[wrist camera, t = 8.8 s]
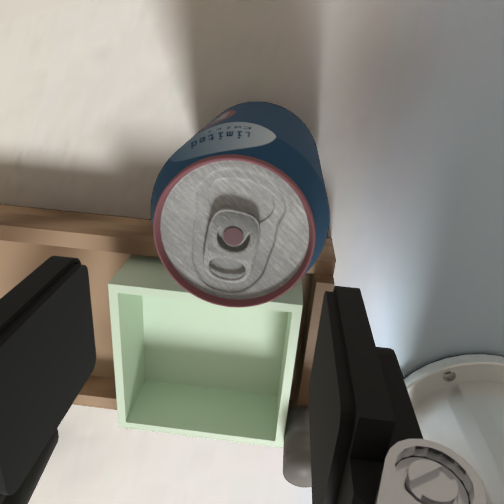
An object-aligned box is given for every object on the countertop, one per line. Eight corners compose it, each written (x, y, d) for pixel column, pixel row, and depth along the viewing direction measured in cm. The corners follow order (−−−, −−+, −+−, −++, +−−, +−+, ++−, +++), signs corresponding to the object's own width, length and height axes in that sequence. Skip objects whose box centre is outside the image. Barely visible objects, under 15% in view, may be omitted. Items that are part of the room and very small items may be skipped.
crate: (301, 267, 27) (302, 305, 23) (283, 396, 32) (282, 448, 27) (135, 249, 28) (107, 283, 24) (141, 379, 32) (118, 427, 28)
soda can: (211, 86, 25) (144, 115, 14) (331, 114, 25) (360, 164, 14) (193, 201, 28) (127, 299, 17) (301, 225, 28) (304, 339, 17)
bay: (342, 239, 28) (359, 308, 20) (314, 401, 33) (319, 501, 26) (-18, 202, 29) (-127, 254, 21) (14, 364, 35) (-63, 450, 27)
